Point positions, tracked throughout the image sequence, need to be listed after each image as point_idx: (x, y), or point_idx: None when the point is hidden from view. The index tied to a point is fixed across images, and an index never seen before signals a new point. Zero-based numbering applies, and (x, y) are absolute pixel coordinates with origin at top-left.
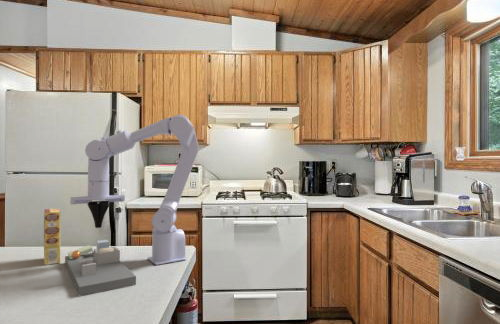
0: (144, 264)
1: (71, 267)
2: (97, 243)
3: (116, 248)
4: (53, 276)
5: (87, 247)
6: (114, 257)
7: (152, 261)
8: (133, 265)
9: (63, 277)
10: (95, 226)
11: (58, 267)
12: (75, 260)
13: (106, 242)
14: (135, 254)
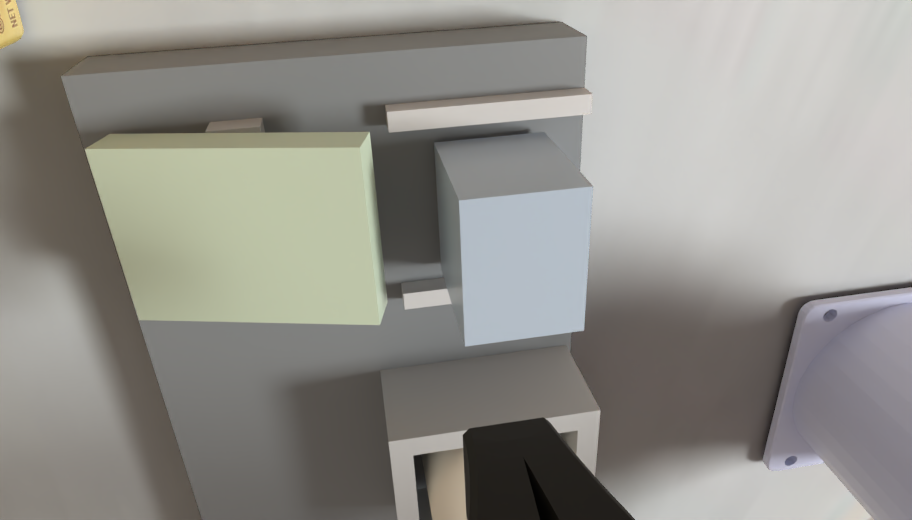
0: (716, 409)
1: (203, 501)
2: (457, 245)
3: None
4: (76, 432)
5: (331, 243)
6: None
7: (778, 414)
8: (647, 402)
9: (161, 475)
10: (466, 479)
11: (52, 196)
12: None
13: (551, 333)
14: (809, 77)
